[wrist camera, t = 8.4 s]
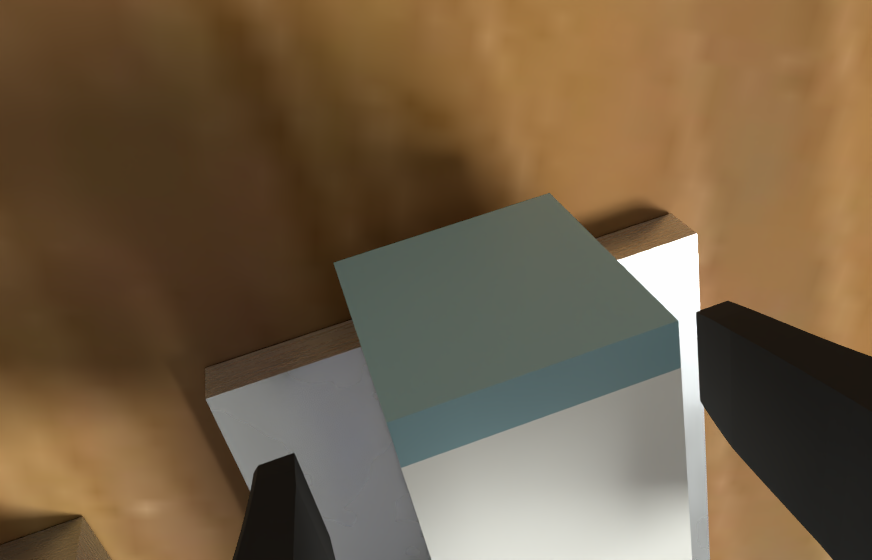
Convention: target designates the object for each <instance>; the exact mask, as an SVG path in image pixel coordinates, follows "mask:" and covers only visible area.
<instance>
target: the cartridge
mask: <svg viewBox="0 0 872 560" xmlns="http://www.w3.org/2000/svg"><path fill="white" fill-rule="evenodd" d="M334 266H335V269H336V272H337V275H338V278H339V281H340V284H341V287H342V290H343V293H344V296H345V299H346V302H347V305H348V309H349V312H350V315H351V318H352V321H353V324H354V327H355V330H356V333H357V336H358V339H359V342H360V345H361V348H362V351H363V354H364V357H365V360H366V363H367V366H368V369H369V372H370V375H371V378H372V381H373V384H374V387H375V390H376V393H377V396H378V399H379V402H380V405H381V409H382V412H383V415H384V418H385V421H386V424H387V427H388V430H389V433H390V436H391V439H392V442H393V445H394V448H395V451H396V454H397V457H398V460H399V463H400V466H401V469H402V472H403V475H404V478H405V481H406V484H407V487H408V490H409V493H410V496H411V499H412V502H413V505H414V509H415V512H416V515H417V518H418V521H419V524H420V527H421V530H422V533H423V536H424V539H425V542H426V545H427V548H428V551H429V554H430V557H431V560H692V549H691V531H690V514H689V496H688V479H687V461H686V444H685V426H684V409H683V391H682V374H681V356H680V339H679V321H678V320H677V319H676V318H675V317H674V316H673V315H672V314H671V313H670V312H669V311H668V310H667V309H666V308H665V307H664V306H663V305H662V304H661V303H660V302H659V301H658V300H657V299H656V298H655V297H654V296H653V295H652V294H651V293H650V292H649V291H648V290H647V289H646V288H645V287H644V286H643V285H642V284H641V283H640V282H639V281H638V280H637V279H636V278H635V277H634V276H633V275H632V274H631V273H630V272H629V271H628V270H627V269H626V268H625V267H624V266H623V265H622V264H621V263H620V262H619V261H618V260H617V259H616V258H615V257H614V256H613V255H612V254H611V253H610V252H609V251H608V250H607V249H606V248H605V247H604V246H603V245H602V244H600V243H599V242H598V241H597V240H596V239H595V238H594V237H593V236H592V235H591V234H590V233H589V232H588V231H587V230H586V229H585V228H584V227H583V226H582V225H581V224H580V223H579V222H578V221H577V220H576V219H575V218H574V217H573V216H572V215H571V214H570V213H569V212H568V211H567V210H566V209H565V208H564V207H563V206H562V205H561V204H560V203H559V202H558V201H557V200H556V199H555V198H554V197H553V196H552V195H551V194H550V193H548V194H545V195H542V196H539V197H536V198H533V199H529V200H526V201H523V202H520V203H517V204H514V205H511V206H508V207H505V208H502V209H498V210H495V211H492V212H489V213H486V214H483V215H480V216H477V217H474V218H470V219H467V220H464V221H461V222H458V223H455V224H452V225H449V226H446V227H443V228H439V229H436V230H433V231H430V232H427V233H424V234H421V235H418V236H415V237H412V238H408V239H405V240H402V241H399V242H396V243H393V244H390V245H387V246H384V247H380V248H377V249H374V250H371V251H368V252H365V253H362V254H359V255H356V256H353V257H349V258H346V259H343V260H340V261H337V262H334Z"/></svg>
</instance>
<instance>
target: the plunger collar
mask: <svg viewBox="0 0 872 560" xmlns="http://www.w3.org/2000/svg"><path fill="white" fill-rule="evenodd" d="M0 560H111V558H110V557H109V555H108V554H107V552H106V551H105V549H104V547H103V546H102V544H101V543H100V541H99V540H98V538H97V537H96V535H95V534H94V532H93V531H92V529H91V528H90V526H89V525H88V523H87V522H86V520H85V519H84V517H83V516H82V517H80V518H77V519H74V520H71V521H68V522H65V523H62V524H59V525H57V526H54V527H51V528H48V529H45V530H42V531H39V532H37V533H34V534H31V535H28V536H25V537H22V538H19V539H16V540H14V541H11V542H8V543H5V544H2V545H0Z"/></svg>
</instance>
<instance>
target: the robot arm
mask: <svg viewBox="0 0 872 560" xmlns="http://www.w3.org/2000/svg"><path fill="white" fill-rule="evenodd" d="M696 324H697V347H698V369H699V391H700V402H701V403H702V405H703V406H704V408H705V409H706V411H707V412H708V414H709V415H710V417H711V418H712V420H713V421H714V423H715V424H716V426H717V427H718V428H719V430H720V431H721V433H722V434H723V435H724V437H725V438H726V440H727V441H728V442H729V444H730V445H731V447H732V448H733V449H734V450H735V451H736V452H737V454H738V455H739V456H740V457H741V458H742V459H743V460H744V461H745V463H746V464H747V465H748V466H749V467H750V468H751V469H752V470H753V471H754V473H755V474H756V475H757V476H758V477H759V478H760V479H761V480H762V481H763V483H764V484H765V485H766V486H767V487H768V488H769V489H770V490H771V491H772V492H773V493H774V495H775V496H776V497H777V498H778V499H779V500H780V501H781V502H782V503H783V504H784V505H785V507H786V508H787V509H788V510H789V511H790V512H791V513H792V514H793V515H794V516H795V517H796V519H797V520H798V521H799V522H800V523H801V524H802V525H803V526H804V527H805V528H806V529H807V531H808V532H809V533H810V534H811V535H812V536H813V537H814V538H815V539H816V540H817V541H818V543H819V544H820V545H821V546H822V547H823V548H824V550H825V551H826V552H827V553H828V554H829V555H830V557H831V558H832V559H833V560H872V357H871V356H868V355H866V354H863V353H860V352H857V351H854V350H852V349H849V348H846V347H844V346H841V345H838V344H836V343H833V342H831V341H828V340H826V339H823V338H820V337H818V336H815V335H813V334H810V333H808V332H805V331H803V330H800V329H798V328H796V327H793V326H791V325H788V324H786V323H783V322H781V321H778V320H776V319H773V318H771V317H768V316H766V315H764V314H761V313H759V312H756V311H754V310H751V309H749V308H746V307H743V306H741V305H738V304H735V303H732V302H730V301H726V302H723V303H720V304H717V305H714V306H712V307H709V308H706V309H703V310H700V311H697V312H696ZM233 560H336V559H335V555H334V551H333V547H332V543H331V539H330V535H329V533H328V531H327V528H326V526H325V524H324V521H323V519H322V517H321V514H320V512H319V509H318V507H317V505H316V502H315V500H314V498H313V495H312V493H311V491H310V488H309V486H308V484H307V481H306V479H305V476H304V474H303V472H302V469H301V467H300V465H299V462H298V460H297V458H296V455H295V453H292V454H289V455H286V456H283V457H280V458H278V459H275V460H272V461H269V462H266V463H263V464H260V465H258V466H257V468H256V470H255V471H254V473H253V479H252V485H251V490H250V495H249V500H248V504H247V508H246V513H245V517H244V521H243V524H242V528H241V532H240V536H239V540H238V543H237V546H236V550H235V553H234V556H233Z"/></svg>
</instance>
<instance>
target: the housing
mask: <svg viewBox="0 0 872 560" xmlns="http://www.w3.org/2000/svg"><path fill="white" fill-rule="evenodd" d="M596 240H597V241H598V242H599V243H600V244H602V245H603V246H604V247H605V248H606V249H607V250H608V251H609V252H610V253H611V254H612V255H613V256H614V257H615V258H616V259H617V260H618V261H619V262H620V263H621V264H622V265H623V266H624V267H625V268H626V269H627V270H628V271H629V272H630V273H631V274H632V275H633V276H634V277H635V278H636V279H637V280H638V281H639V282H640V283H641V284H642V285H643V286H644V287H645V288H646V289H647V290H648V291H649V292H650V293H651V294H652V295H653V296H654V297H655V298H656V299H657V300H658V301H659V302H660V303H661V304H662V305H663V306H664V307H665V308H666V309H667V310H668V311H669V312H670V313H671V314H672V315H673V316H674V317H675V318H676V319H677V320H678V321H679V339H680V356H681V374H682V391H683V409H684V426H685V444H686V461H687V479H688V496H689V514H690V531H691V549H692V560H710V555H709V529H708V503H707V477H706V451H705V425H704V406H703V405H702V403H701V402H700V391H699V369H698V347H697V324H696V312H697V311H700V296H699V271H698V245H697V233H696V232H694V231H693V230H692V229H691V228H689V227H688V226H687V225H685V224H684V223H683V222H682V221H680V220H679V219H678V218H676V217H675V216H674V215H673V214H668V215H665V216H662V217H659V218H656V219H653V220H650V221H647V222H644V223H641V224H638V225H635V226H632V227H629V228H626V229H623V230H620V231H617V232H614V233H611V234H608V235H605V236H602V237H599V238H596ZM205 399H206V401H207V403H208V405H209V407H210V409H211V412H212V414H213V416H214V418H215V420H216V422H217V424H218V426H219V428H220V430H221V432H222V434H223V436H224V438H225V440H226V442H227V445H228V447H229V449H230V451H231V453H232V455H233V457H234V459H235V461H236V463H237V465H238V467H239V469H240V471H241V473H242V475H243V478H244V480H245V482H246V484H247V486H248V488H249V490H251V485H252V479H253V473H254V471H255V470H256V468H257V466H258V465H260V464H263V463H266V462H269V461H272V460H275V459H278V458H280V457H283V456H286V455H289V454H292V453H295V455H296V458H297V460H298V462H299V465H300V467H301V469H302V472H303V474H304V476H305V479H306V481H307V484H308V486H309V488H310V491H311V493H312V495H313V498H314V500H315V502H316V505H317V507H318V509H319V512H320V514H321V517H322V519H323V521H324V524H325V526H326V528H327V531H328V533H329V535H330V539H331V543H332V547H333V551H334V555H335V559H336V560H431V557H430V554H429V551H428V548H427V545H426V542H425V539H424V536H423V533H422V530H421V527H420V524H419V521H418V518H417V515H416V512H415V509H414V505H413V502H412V499H411V496H410V493H409V490H408V487H407V484H406V481H405V478H404V475H403V472H402V469H401V466H400V463H399V460H398V457H397V454H396V451H395V448H394V445H393V442H392V439H391V436H390V433H389V430H388V427H387V424H386V421H385V418H384V415H383V412H382V409H381V405H380V402H379V399H378V396H377V393H376V390H375V387H374V384H373V381H372V378H371V375H370V372H369V369H368V366H367V363H366V360H365V357H364V354H363V351H362V348H361V345H360V342H359V339H358V336H357V333H356V330H355V327H354V324H353V321H352V320H349V321H346V322H343V323H340V324H337V325H334V326H331V327H328V328H325V329H322V330H319V331H316V332H313V333H310V334H307V335H304V336H301V337H298V338H295V339H292V340H289V341H286V342H283V343H280V344H277V345H274V346H271V347H268V348H265V349H262V350H259V351H256V352H253V353H250V354H247V355H244V356H241V357H237V358H234V359H231V360H228V361H225V362H222V363H219V364H216V365H213V366H210V367H207V368H205Z"/></svg>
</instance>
